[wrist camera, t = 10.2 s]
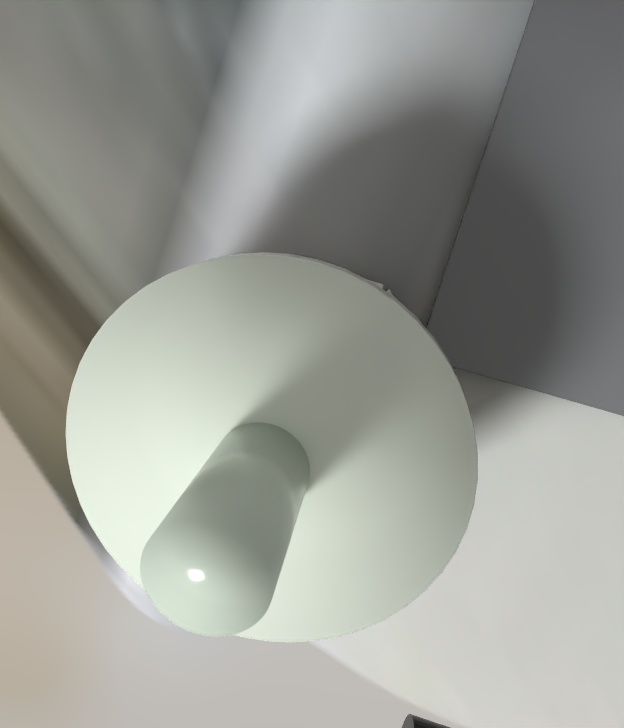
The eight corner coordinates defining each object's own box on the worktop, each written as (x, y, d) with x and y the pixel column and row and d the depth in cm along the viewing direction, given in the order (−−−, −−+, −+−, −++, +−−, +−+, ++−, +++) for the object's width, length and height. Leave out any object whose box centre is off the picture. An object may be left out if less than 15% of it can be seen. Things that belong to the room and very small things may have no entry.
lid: (533, 318, 15) (622, 391, 9) (403, 660, 19) (406, 870, 13) (114, 203, 16) (-52, 204, 10) (66, 553, 19) (-77, 705, 14)
